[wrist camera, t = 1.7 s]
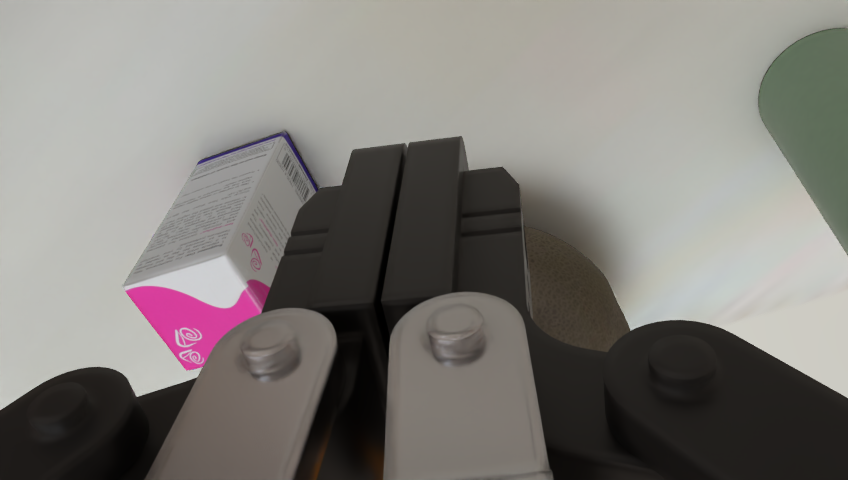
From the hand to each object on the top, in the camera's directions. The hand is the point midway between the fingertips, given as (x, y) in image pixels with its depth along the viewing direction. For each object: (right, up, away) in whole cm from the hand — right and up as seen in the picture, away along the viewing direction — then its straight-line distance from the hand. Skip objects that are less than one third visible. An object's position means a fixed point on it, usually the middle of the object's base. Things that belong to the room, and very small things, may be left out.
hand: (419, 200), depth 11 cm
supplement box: (-9, +3, +34) cm, 36 cm away
